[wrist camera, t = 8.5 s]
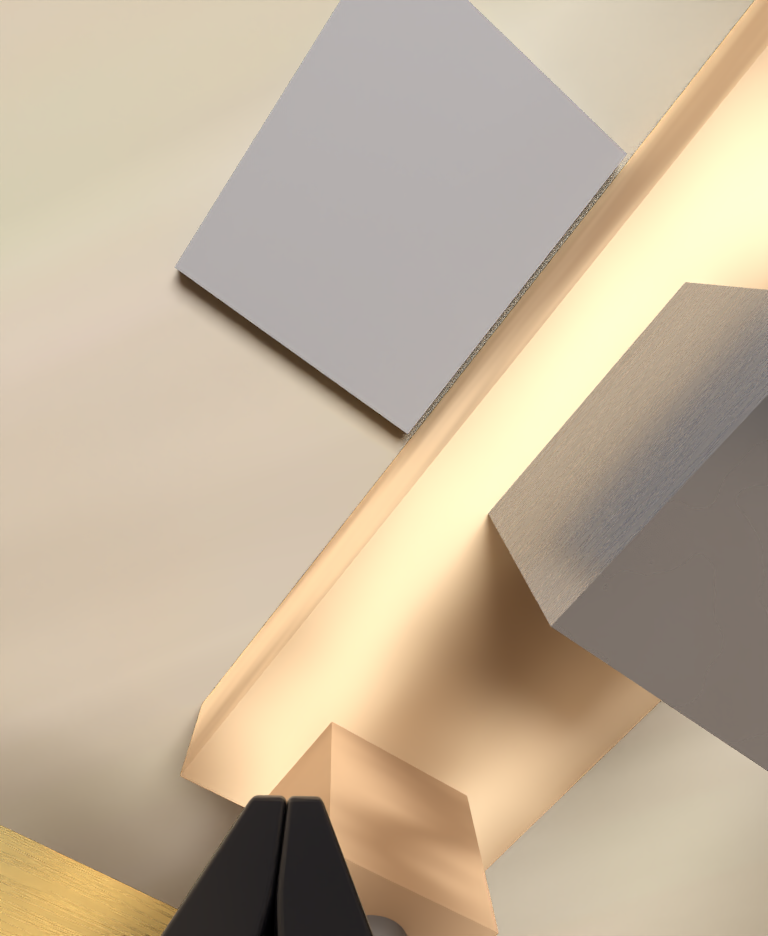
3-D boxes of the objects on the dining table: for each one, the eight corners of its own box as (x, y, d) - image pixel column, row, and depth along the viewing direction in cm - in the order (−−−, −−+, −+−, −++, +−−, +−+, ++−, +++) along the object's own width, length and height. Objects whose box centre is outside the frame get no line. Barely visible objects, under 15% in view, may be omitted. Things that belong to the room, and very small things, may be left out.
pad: (620, 156, 16) (627, 154, 15) (406, 430, 18) (407, 434, 18) (387, -68, 14) (388, -77, 14) (178, 266, 16) (174, 266, 16)
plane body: (987, 261, 17) (2109, 281, 6) (435, 826, 23) (520, 1351, 12) (756, -2, 15) (1933, -719, 4) (202, 704, 21) (41, 1224, 10)
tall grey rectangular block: (847, 431, 16) (1067, 510, 11) (652, 628, 17) (769, 772, 12) (685, 281, 14) (857, 298, 9) (488, 513, 16) (550, 626, 11)
